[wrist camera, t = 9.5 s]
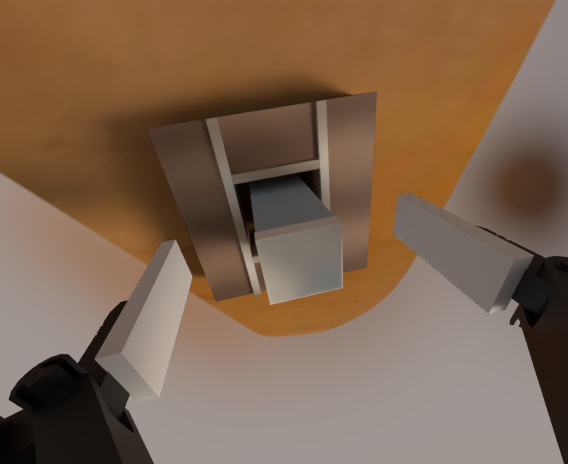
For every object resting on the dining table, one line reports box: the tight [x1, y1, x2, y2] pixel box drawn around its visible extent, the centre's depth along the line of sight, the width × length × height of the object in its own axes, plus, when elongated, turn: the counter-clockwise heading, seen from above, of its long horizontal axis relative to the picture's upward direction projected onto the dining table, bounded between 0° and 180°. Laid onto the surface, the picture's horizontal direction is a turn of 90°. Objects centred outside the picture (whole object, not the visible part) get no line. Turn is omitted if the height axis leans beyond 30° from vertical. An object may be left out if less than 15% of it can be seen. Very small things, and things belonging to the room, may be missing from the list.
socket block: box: [147, 92, 377, 302], centre depth 18 cm, size 14×14×4 cm
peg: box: [249, 173, 343, 305], centre depth 16 cm, size 4×4×10 cm
